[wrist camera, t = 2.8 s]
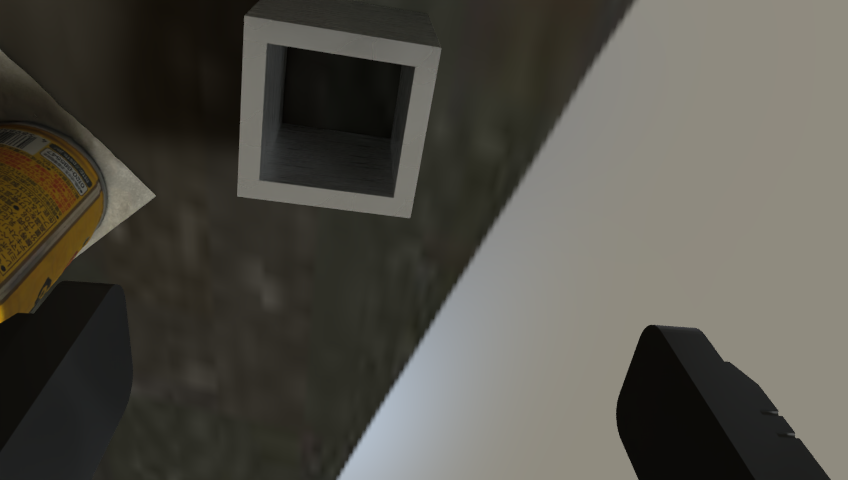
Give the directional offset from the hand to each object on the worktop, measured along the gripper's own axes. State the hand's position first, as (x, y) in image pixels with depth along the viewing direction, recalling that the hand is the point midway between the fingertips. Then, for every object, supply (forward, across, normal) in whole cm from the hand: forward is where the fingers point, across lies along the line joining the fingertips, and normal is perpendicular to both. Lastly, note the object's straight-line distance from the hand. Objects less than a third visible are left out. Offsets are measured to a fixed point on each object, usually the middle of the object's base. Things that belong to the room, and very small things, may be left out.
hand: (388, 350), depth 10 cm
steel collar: (+18, +2, +1) cm, 18 cm away
